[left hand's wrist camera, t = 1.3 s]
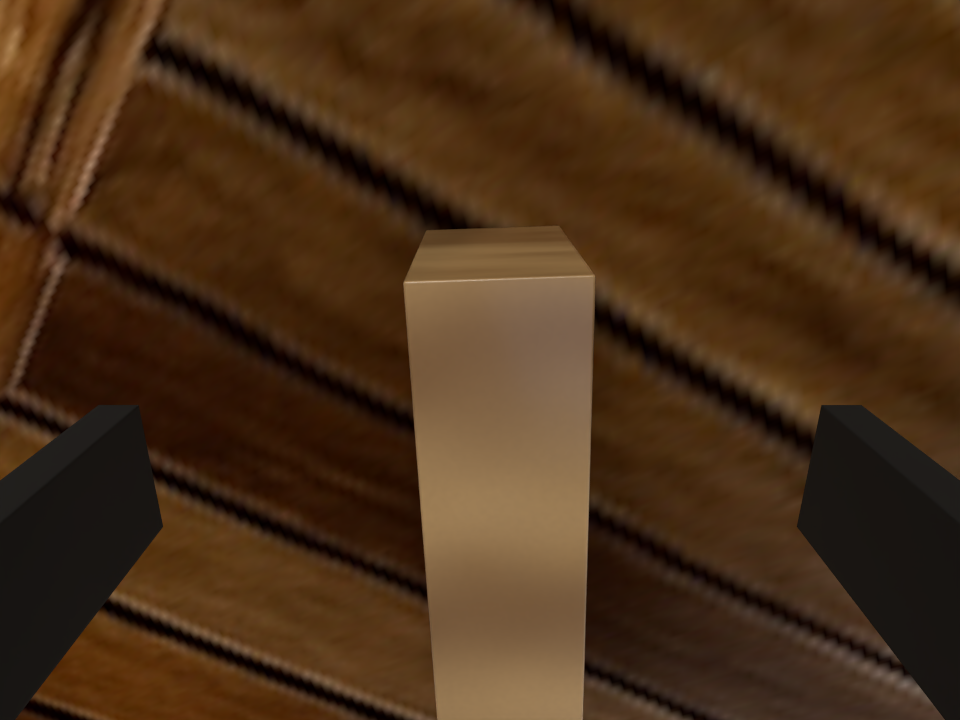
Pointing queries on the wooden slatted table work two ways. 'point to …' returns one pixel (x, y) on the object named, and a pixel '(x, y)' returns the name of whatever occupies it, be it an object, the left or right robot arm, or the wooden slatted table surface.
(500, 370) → the bar
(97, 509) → the left robot arm
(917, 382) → the wooden slatted table surface
